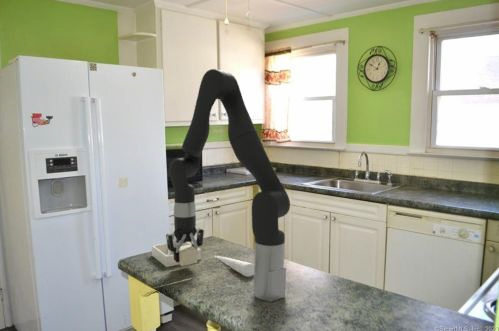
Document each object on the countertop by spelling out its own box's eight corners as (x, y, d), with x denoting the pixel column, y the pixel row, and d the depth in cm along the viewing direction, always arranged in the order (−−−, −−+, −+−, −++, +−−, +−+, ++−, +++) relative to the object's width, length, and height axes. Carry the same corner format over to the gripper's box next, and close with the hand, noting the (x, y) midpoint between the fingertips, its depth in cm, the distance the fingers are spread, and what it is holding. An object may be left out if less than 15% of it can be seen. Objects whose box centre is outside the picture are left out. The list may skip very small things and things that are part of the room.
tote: (200, 260, 149) (200, 249, 149) (166, 268, 141) (166, 256, 141) (184, 250, 161) (184, 239, 160) (152, 257, 153) (151, 245, 152)
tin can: (188, 258, 150) (188, 240, 149) (171, 262, 146) (171, 243, 145) (180, 253, 156) (180, 236, 155) (164, 256, 152) (163, 239, 151)
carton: (197, 262, 139) (197, 248, 138) (182, 266, 135) (181, 252, 135) (189, 257, 143) (189, 244, 143) (174, 261, 140) (174, 247, 139)
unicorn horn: (221, 255, 156) (221, 243, 155) (255, 276, 137) (255, 263, 136) (211, 257, 153) (211, 246, 153) (244, 279, 134) (244, 265, 133)
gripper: (170, 219, 130) (171, 267, 132) (207, 213, 139) (208, 258, 140) (161, 214, 136) (162, 261, 138) (197, 209, 145) (198, 253, 146)
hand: (185, 259), depth 139 cm, fingers closed on carton, 6 cm apart
